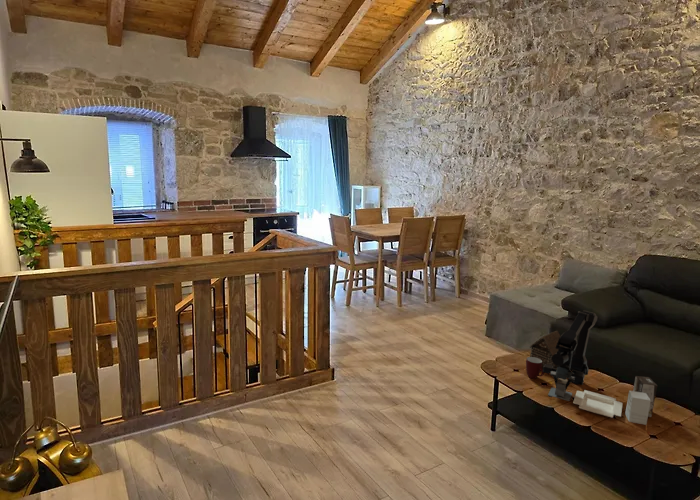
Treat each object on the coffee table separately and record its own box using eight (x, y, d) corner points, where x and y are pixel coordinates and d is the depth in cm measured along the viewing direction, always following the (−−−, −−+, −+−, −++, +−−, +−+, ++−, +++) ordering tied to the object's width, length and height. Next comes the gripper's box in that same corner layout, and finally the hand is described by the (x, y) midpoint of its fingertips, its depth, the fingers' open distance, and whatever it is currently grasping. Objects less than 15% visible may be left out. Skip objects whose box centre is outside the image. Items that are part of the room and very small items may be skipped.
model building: (550, 374, 259) (554, 340, 255) (525, 365, 270) (529, 332, 266) (564, 366, 271) (569, 333, 267) (541, 357, 282) (545, 326, 278)
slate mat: (551, 388, 243) (551, 387, 243) (572, 394, 238) (572, 392, 238) (547, 395, 235) (548, 394, 235) (569, 402, 230) (569, 400, 229)
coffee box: (652, 417, 219) (658, 385, 216) (637, 415, 220) (642, 383, 217) (644, 407, 228) (649, 377, 225) (629, 405, 229) (635, 375, 226)
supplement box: (642, 417, 218) (646, 393, 216) (646, 426, 211) (651, 400, 209) (624, 414, 220) (628, 389, 218) (628, 422, 213) (632, 397, 211)
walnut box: (557, 388, 240) (559, 377, 239) (566, 390, 238) (567, 379, 237) (554, 394, 234) (556, 383, 232) (563, 396, 232) (565, 385, 230)
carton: (577, 392, 240) (577, 388, 239) (622, 404, 229) (622, 400, 229) (571, 409, 222) (572, 405, 222) (619, 424, 212) (620, 419, 211)
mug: (547, 380, 252) (549, 362, 250) (538, 383, 248) (541, 366, 246) (529, 372, 261) (531, 355, 259) (521, 375, 256) (523, 358, 254)
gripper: (542, 360, 231) (538, 389, 234) (583, 370, 221) (579, 400, 224) (546, 352, 240) (542, 380, 243) (586, 362, 230) (582, 391, 233)
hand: (561, 388), depth 236 cm, fingers closed on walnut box, 4 cm apart
